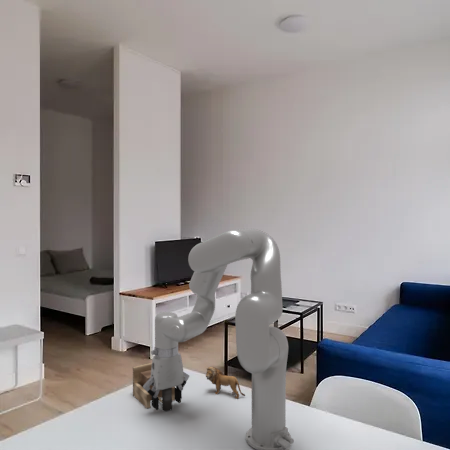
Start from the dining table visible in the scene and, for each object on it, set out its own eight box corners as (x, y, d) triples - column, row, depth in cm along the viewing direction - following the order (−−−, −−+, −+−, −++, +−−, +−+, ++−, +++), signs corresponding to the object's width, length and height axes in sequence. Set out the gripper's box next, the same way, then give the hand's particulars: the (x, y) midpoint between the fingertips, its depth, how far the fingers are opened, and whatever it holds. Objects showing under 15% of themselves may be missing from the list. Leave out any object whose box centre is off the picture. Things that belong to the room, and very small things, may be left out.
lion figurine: (203, 394, 142) (203, 368, 142) (209, 387, 147) (209, 363, 147) (243, 400, 137) (243, 374, 137) (247, 393, 142) (247, 368, 142)
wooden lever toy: (177, 408, 132) (177, 384, 132) (160, 413, 128) (160, 388, 128) (156, 390, 145) (156, 368, 145) (140, 395, 141) (140, 372, 141)
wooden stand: (175, 400, 138) (175, 371, 137) (147, 408, 132) (146, 378, 131) (159, 387, 147) (159, 360, 147) (132, 395, 141) (132, 366, 141)
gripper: (146, 360, 123) (147, 417, 123) (195, 349, 133) (195, 402, 133) (136, 353, 129) (137, 407, 129) (184, 343, 139) (184, 393, 139)
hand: (166, 404), depth 131 cm, fingers open, 7 cm apart
